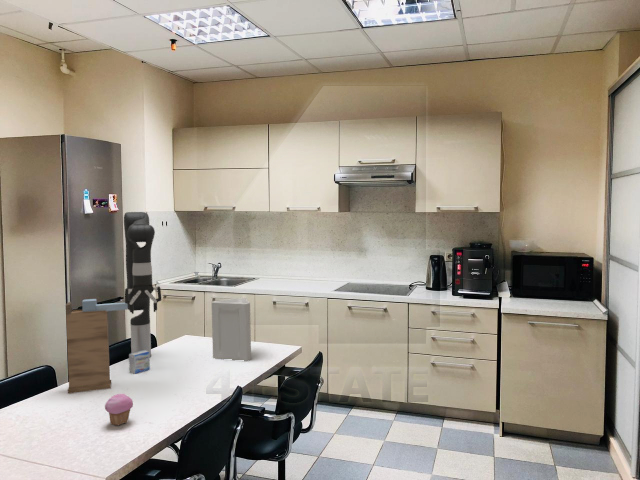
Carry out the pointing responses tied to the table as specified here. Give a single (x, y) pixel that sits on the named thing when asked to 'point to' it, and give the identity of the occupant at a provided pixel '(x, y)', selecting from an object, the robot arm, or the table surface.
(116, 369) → the table surface
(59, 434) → the table surface
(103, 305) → the bar
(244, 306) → the grey box
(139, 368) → the medicine box
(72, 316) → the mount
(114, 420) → the cupcake
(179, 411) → the table surface
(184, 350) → the table surface
